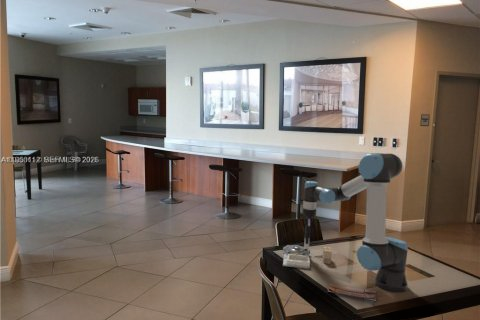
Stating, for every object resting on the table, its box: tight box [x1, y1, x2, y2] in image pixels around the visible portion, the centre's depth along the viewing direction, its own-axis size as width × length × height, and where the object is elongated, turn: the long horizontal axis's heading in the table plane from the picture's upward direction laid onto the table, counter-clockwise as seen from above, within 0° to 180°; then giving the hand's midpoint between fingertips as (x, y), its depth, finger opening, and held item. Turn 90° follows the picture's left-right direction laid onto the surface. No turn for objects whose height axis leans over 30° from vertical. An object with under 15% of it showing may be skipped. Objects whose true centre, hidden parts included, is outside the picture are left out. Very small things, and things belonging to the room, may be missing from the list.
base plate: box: [282, 246, 311, 270], centre depth 218 cm, size 30×14×3 cm, turn 171°
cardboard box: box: [322, 246, 333, 265], centre depth 215 cm, size 7×4×7 cm, turn 172°
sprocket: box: [282, 244, 311, 256], centre depth 223 cm, size 16×16×7 cm
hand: (306, 248), depth 220 cm, fingers closed
